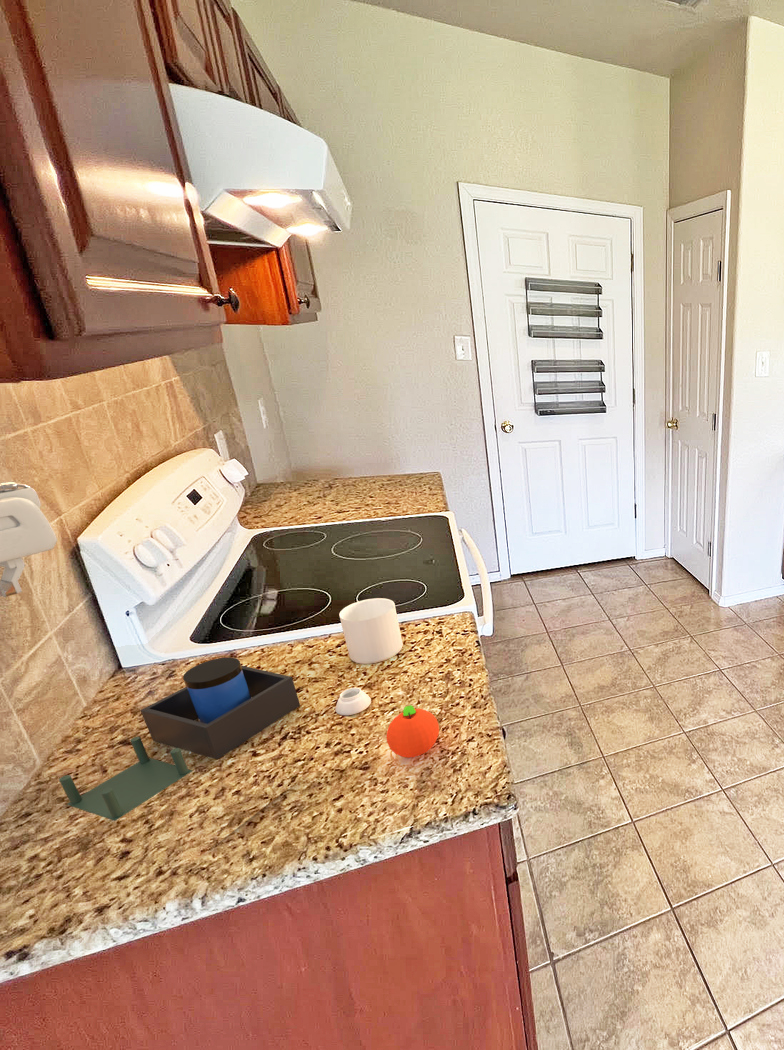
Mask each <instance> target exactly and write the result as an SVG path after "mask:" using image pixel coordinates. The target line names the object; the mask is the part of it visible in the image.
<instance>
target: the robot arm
mask: <svg viewBox="0 0 784 1050" xmlns="http://www.w3.org/2000/svg"><path fill="white" fill-rule="evenodd" d="M41 504H42V503H41V500H40V498H39V495H38V492H37V491H36V490H35V489H34V488H33V487H32V486H30V485H28V484H24V483H17V482H16V481H3V482H0V567H3V568H4V569H3V572H2V575H1V578H0V597H3V598H8V597H11V596H14V595H17V594H18V595H19V594H21V593H22V592H23V590H22V587H21V584H20V583H19V580H20V578H21V577H22V574H23V572H24V569H25V567H26V564H25V561H24V558H26V557H29V556H32V555H37V554H40V553H44V552H48V551H49V552H50V551H51V550H53V549H54V548H55V546H56V545H57V542H58V537H57V534H56V533H55V530H54V529H53V527H52V526H51V523H50V522H49V520H48V519H47V517H46V515H45V514H44V512H43V511H42V510H41V507H42V505H41Z"/></svg>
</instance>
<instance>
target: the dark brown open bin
mask: <svg viewBox="0 0 784 1050" xmlns="http://www.w3.org/2000/svg"><path fill="white" fill-rule="evenodd" d="M241 667H242V671H243V674H244V677H245V680H246V683H247V686H248V689H249V692H250V695H251V699H249V700H247V701H246V702H244V703H242V704H240V705H239V706H237V707H235V708H234V709H232V710H230V711H229V712H227V713H225V714H223V715H222V716H220V717H218V718H217V719H215V720H213V721H212V722H210V723H208V724H205V723H202V722H200V721H199V718H198V716H197V713H196V710H195V708H194V705H193V702H192V700H191V697H190V694H189V692H188V689H187V687H186V686H184V687H182V688H181V689H179V690H177V691H175V692H172V693H171V694H169V695H167V696H165V697H164V698H161V699H159V700H158V701H155V702H154V703H152V704H150V705H148V706H146V707H144V708H142V709H141V710H140V711H139V712H140V713H141V715H142V718H143V720H144V723H145V725H146V728H147V730H148V733H149V735H150V738H151V740H152V741H153V743H157V744H161V745H163V746H164V745H165V746H168V747H172V748H180V750H181V751H185V752H189V753H192V754H197V755H200V756H204V757H207V758H210V759H215V760H220V759H221V758H222V757H224V756H226V755H227V754H229V753H230V752H232V751H233V750H234V749H236V748H238V747H239V746H241V745H242V744H244V743H246V742H247V741H248V740H250V739H251V738H253V737H255V736H256V735H257V734H259V733H261V732H262V731H264V730H265V729H267V728H268V727H270V726H271V725H273V724H274V723H276V722H278V721H279V720H280V719H282V718H284V717H285V716H287V715H288V714H290V713H292V712H293V711H295V710H297V709H298V708H300V706H301V704H300V701H299V696H298V694H297V690H296V689H297V688H296V687H295V683H294V680H293V677H292V676H290V675H285V674H282V673H276V672H273V671H268V670H263V669H258V668H255V667H249V666H245V665H242V664H241ZM197 720H198V721H197Z"/></svg>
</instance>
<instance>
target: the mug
mask: <svg viewBox="0 0 784 1050" xmlns="http://www.w3.org/2000/svg"><path fill="white" fill-rule="evenodd" d="M338 614H339V620H340V623H341V628H342V632H343V636H344V640H345V645H346V649H347V653H348V657H349V659H350V660H351V661H352V662H354V663H356V664H361V665H370V664H376V663H380V662H383V661H386V660H389V659H391V658H393V657H394V656H396V655H398V653H400V652H401V650H402V648H403V646H404V643H403V638H402V633H401V628H400V624H399V618H398V613H397V609H396V604H395V602H394V600H392V599H389V598H385V597H383V598H381V597H375V598H367V599H363V600H358V601H356V602H353V603H351V604H349V605H347V606H345V607H343V608H342V609H341V610H340V612H339V613H338Z"/></svg>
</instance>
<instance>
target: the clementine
mask: <svg viewBox="0 0 784 1050" xmlns="http://www.w3.org/2000/svg"><path fill="white" fill-rule="evenodd" d="M439 734H440V726H439V721H438V719H437V718H436V716H435V715H434V714H433V713H432V712H430V711H428V710H426V709H424V708H415V707H414V706H413V705H411V704H409V705H406V706H405V707H404V708H403V711H402V712H400V713H399V714H398V715H396V716H395V717H394V718H393V719H392V720H391V722H390V723H389V725H388V728H387V730H386V743H387V745H388V747H389V749H390V750H391V751H392V752H393V753H394V754H395V755H397V756H400V757H403V758H415V757H418V756H421V755H424V754H425V753H427V752H429V750H431V748H433V746H434V745H435V743H437V739H438V737H439Z"/></svg>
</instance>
